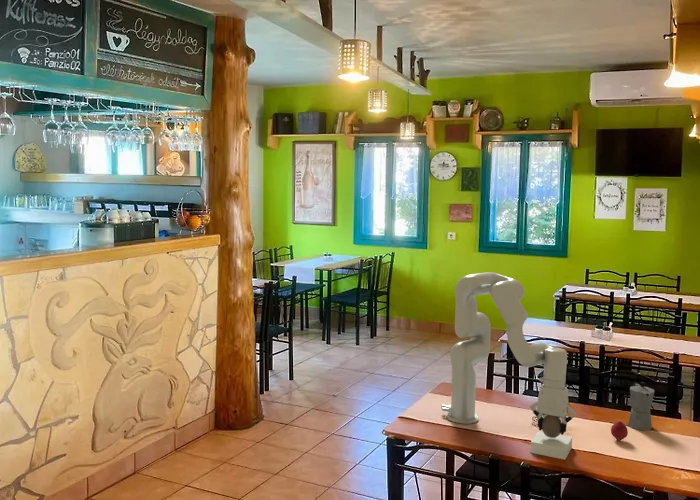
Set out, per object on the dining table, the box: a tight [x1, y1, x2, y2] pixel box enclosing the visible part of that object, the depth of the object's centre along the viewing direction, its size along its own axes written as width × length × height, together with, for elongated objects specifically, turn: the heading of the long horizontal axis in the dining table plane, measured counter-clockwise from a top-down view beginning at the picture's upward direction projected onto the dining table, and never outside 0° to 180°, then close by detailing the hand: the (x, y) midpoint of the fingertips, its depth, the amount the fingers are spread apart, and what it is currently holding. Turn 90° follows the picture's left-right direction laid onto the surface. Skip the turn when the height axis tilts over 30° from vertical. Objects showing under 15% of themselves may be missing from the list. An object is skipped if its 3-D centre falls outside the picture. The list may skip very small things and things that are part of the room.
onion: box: [610, 419, 629, 442], centre depth 248 cm, size 6×6×8 cm
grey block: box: [529, 430, 573, 460], centre depth 239 cm, size 12×12×4 cm
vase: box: [541, 415, 562, 438], centre depth 238 cm, size 7×7×9 cm
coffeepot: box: [627, 381, 655, 432], centre depth 264 cm, size 15×9×18 cm, turn 176°
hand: (551, 430), depth 239 cm, fingers closed on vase, 7 cm apart
